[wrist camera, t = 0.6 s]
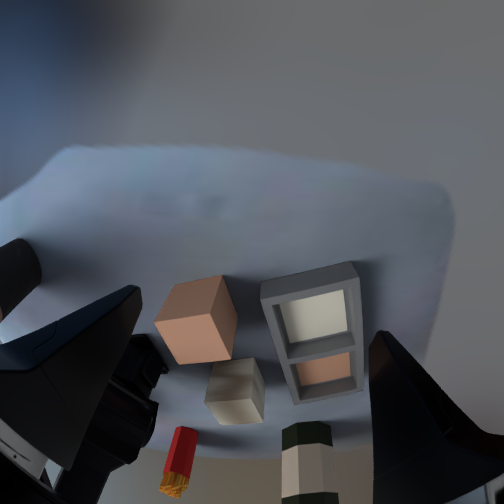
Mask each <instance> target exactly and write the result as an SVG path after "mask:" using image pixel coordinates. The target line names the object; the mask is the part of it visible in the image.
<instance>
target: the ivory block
mask: <svg viewBox="0 0 504 504" xmlns="http://www.w3.org/2000/svg"><path fill="white" fill-rule="evenodd" d="M264 394H265V382H264V380H263V378H262V375H261V373H260V370H259V368H258V366H257V363H256V361H255V358H254V357H253V358H247V359H239V360H232V361H223V362H215V363H213V365H212V370H211V374H210V378H209V383H208V387H207V392H206V396H205V400H204V403H205V404H206V405H207V407H208V408H209V410H210V411H211V412H212V414H213V415H214V416H215V418H216V419H217V420H218V422H219V423H220V424H221V425H234V424H249V423H260V422H263V420H264Z"/></svg>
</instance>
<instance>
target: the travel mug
mask: <svg viewBox="0 0 504 504" xmlns="http://www.w3.org/2000/svg"><path fill="white" fill-rule="evenodd" d="M40 281H41V268H40V264H39V261H38V258H37V256H36V254H35V252H34V251H33V249H32V248H31V246H30V245H29V244H28V243H27V242H25V241H24V240H22V239H15V240H13V241H11V242H9V243H7V244H5V245H4V246H2V247H0V323H1V321H3V320H4V318H5V317H6V316H7V315H8V314H9V313H10V312H11V311H12V310H13V309H14V308H15V307H16V306H17V305H18V304H19V303H20V302H21V301H22V300H23V299H24V298H25V297H26V296H27V295H28V294H29V293H30V292H31V291H32V290H33V289H34V288H35V287H36V286H37V285H38V284H39V283H40Z"/></svg>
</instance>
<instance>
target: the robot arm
mask: <svg viewBox="0 0 504 504" xmlns="http://www.w3.org/2000/svg"><path fill="white" fill-rule="evenodd" d="M142 305H143V303H142V296H141V289H140V287H138V286H135V285H128V286H125V287H123V288H121V289H119V290H117V291H115V292H113V293H111V294H109V295H107V296H105V297H103V298H101V299H99V300H97V301H95V302H93V303H91V304H89V305H87V306H85V307H83V308H81V309H79V310H77V311H75V312H73V313H71V314H69V315H67V316H65V317H63V318H61V319H59V320H58V321H55V322H53V323H51V324H49V325H47V326H45V327H43V328H41V329H39V330H36V331H34V332H32V333H29V334H27V335H24V336H22V337H20V338H17V339H15V340H12V341H10V342H7V343H5V344H1V345H0V504H97V502H98V500H99V498H100V495H101V493H102V490H103V488H104V485H105V483H106V481H107V479H108V476H109V474H110V472H112V471H114V470H115V469H117V468H119V467H121V466H123V465H125V464H131V463H132V462H133V461H135V460H136V459H137V457H138V454H139V450H140V448H143V447H144V446H145V445H146V444H147V443H148V442H149V440H150V438H151V436H152V434H153V431H154V428H155V423H156V417H157V411H158V405H159V403H157V402H155V401H152V400H150V399H149V396H150V394H151V391H152V389H153V388H155V387H156V384H157V382H158V379H159V377H160V374H167V373H168V371H169V370H168V368H167V366H166V365H165V363H164V362H163V360H162V359H161V357H160V356H159V354H158V353H157V351H156V349H155V348H154V346H153V345H152V343H151V341H150V340H149V338H148V337H147V336H146V335H144V334H141V335H132V332H133V330H134V327H135V325H136V322H137V320H138V317H139V315H140V312H141V310H142ZM131 335H132V336H131ZM369 392H370V402H371V415H372V431H373V453H374V454H373V458H374V480H373V504H504V435H498V434H491V433H487V432H485V431H483V430H482V429H480V428H479V427H478V426H477V425H476V424H475V423H474V422H473V421H472V420H471V419H470V418H469V417H468V416H467V415H466V414H465V413H464V412H463V411H462V410H461V409H460V408H459V407H458V406H457V405H456V404H455V403H454V402H453V401H452V400H451V399H450V398H449V397H448V395H447V394H446V393H445V392H444V391H443V390H442V389H441V387H439V385H438V384H437V383H436V382H435V381H434V380H433V378H432V377H431V376H430V375H429V374H428V373H427V372H426V371H425V370H424V368H423V367H422V366H421V365H420V364H419V363H418V362H417V361H416V360H415V359H414V358H413V357H412V355H411V354H410V353H409V352H408V351H407V350H406V349H405V348H404V347H403V346H402V345H401V344H400V343H399V342H398V341H397V339H396V338H395V337H394V336H393V335H392V334H391V333H390V332H389V331H384V330H379V331H378V332H377V333H376V335H375V337H374V338H373V340H372V342H371V343H370V346H369ZM48 459H50V460H52V461H53V462H55V463H56V464H58V465H59V466H61V467H62V468H61V470H60V472H59V474H58V477H57V479H56V481H55V483H54V486H53V488H52V485H51V483H50V480H49V477H48V475H47V472H46V469H45V465H46V463H47V461H48Z"/></svg>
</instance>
